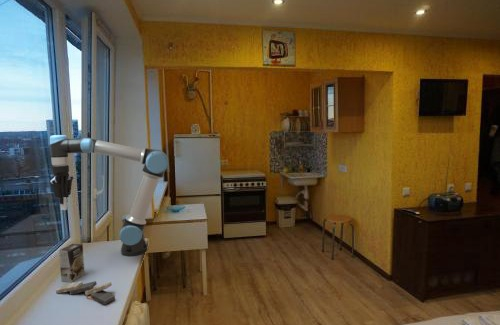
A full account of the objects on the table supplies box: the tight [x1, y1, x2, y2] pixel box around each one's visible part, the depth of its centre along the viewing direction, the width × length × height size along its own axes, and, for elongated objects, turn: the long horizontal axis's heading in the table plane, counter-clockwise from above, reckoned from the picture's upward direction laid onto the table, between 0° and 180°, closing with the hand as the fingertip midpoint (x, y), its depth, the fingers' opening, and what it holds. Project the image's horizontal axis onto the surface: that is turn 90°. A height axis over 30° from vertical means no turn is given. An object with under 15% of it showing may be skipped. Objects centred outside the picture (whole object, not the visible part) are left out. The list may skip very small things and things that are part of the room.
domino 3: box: [84, 281, 113, 296], centre depth 142 cm, size 2×5×10 cm
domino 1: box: [55, 280, 84, 294], centre depth 145 cm, size 2×5×10 cm
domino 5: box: [90, 289, 116, 305], centre depth 138 cm, size 2×5×10 cm
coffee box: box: [58, 243, 85, 283], centre depth 158 cm, size 9×6×16 cm
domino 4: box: [86, 293, 115, 301], centre depth 141 cm, size 2×5×10 cm
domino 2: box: [69, 280, 98, 295], centre depth 145 cm, size 2×5×10 cm
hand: (64, 209), depth 165 cm, fingers closed
